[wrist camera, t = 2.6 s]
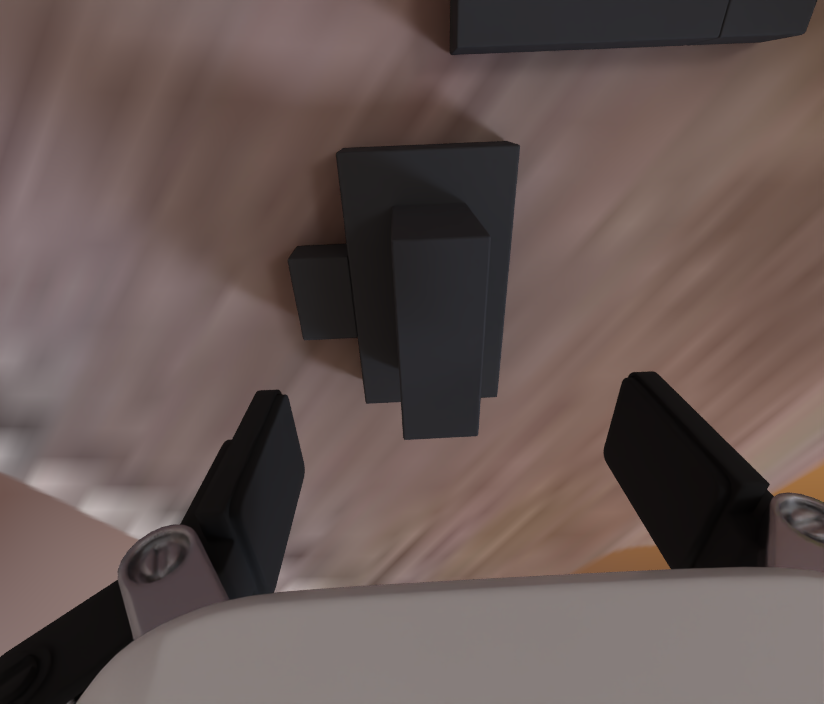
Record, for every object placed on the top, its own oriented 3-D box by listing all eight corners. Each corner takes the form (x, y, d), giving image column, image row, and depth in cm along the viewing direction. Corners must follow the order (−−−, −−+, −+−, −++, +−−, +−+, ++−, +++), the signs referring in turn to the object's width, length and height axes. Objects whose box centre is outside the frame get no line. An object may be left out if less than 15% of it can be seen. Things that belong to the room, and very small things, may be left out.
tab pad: (279, 150, 17) (215, 174, 11) (507, 140, 17) (569, 158, 11) (322, 384, 23) (296, 481, 17) (489, 376, 23) (522, 469, 17)
